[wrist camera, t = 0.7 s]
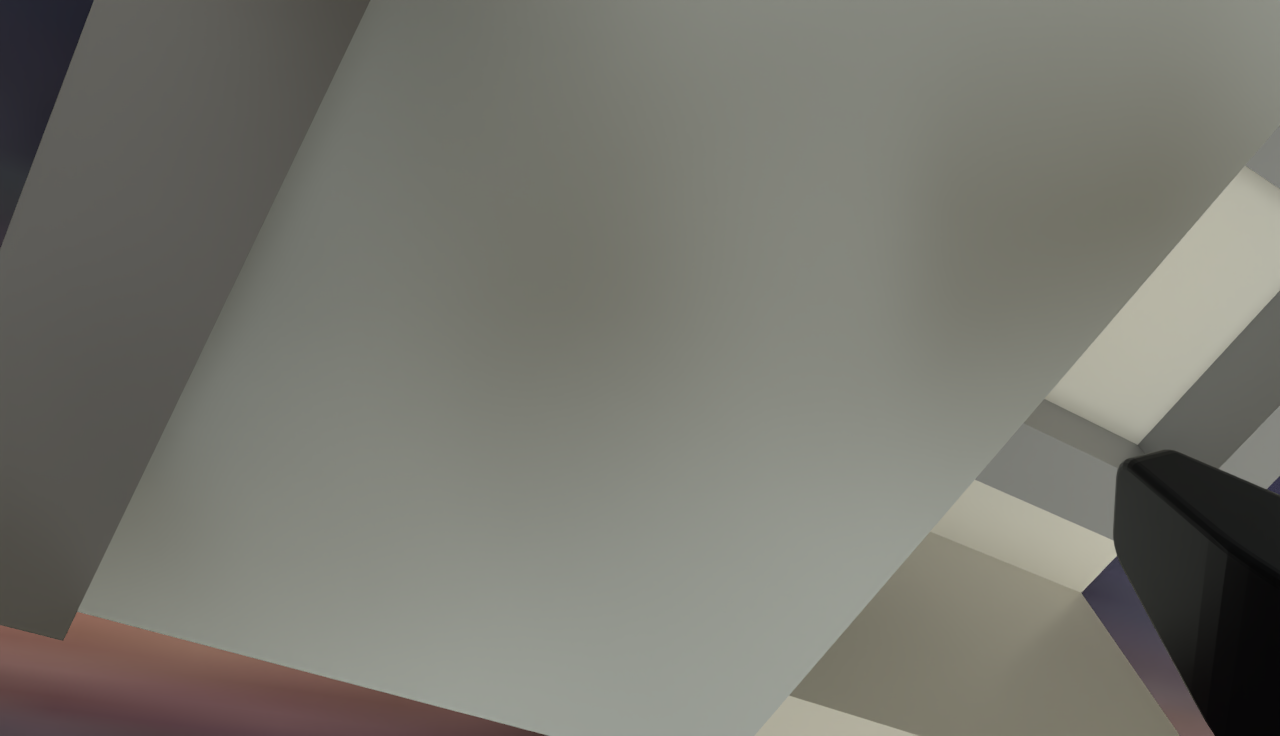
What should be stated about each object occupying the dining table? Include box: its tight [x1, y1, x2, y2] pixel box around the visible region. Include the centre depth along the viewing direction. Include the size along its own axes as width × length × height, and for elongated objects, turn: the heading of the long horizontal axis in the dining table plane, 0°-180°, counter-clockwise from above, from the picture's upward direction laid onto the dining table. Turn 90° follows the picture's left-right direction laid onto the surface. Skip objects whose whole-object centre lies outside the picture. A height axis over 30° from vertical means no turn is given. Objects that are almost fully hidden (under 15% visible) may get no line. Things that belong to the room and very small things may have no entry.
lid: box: [0, 0, 1280, 736], centre depth 11 cm, size 11×16×3 cm
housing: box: [755, 125, 1280, 736], centre depth 19 cm, size 24×16×8 cm, turn 59°
